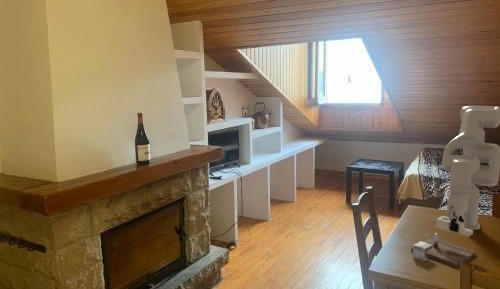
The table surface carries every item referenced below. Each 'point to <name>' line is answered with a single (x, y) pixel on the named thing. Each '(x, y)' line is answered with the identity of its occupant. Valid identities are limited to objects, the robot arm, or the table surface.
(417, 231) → the table surface
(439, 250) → the board
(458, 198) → the robot arm
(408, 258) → the table surface
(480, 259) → the table surface
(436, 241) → the cylinder
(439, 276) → the table surface
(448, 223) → the link
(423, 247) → the block
